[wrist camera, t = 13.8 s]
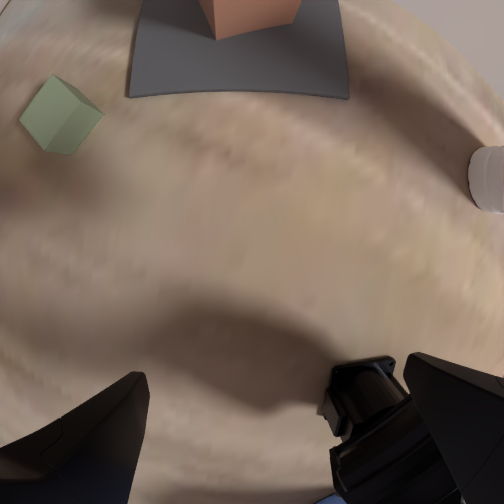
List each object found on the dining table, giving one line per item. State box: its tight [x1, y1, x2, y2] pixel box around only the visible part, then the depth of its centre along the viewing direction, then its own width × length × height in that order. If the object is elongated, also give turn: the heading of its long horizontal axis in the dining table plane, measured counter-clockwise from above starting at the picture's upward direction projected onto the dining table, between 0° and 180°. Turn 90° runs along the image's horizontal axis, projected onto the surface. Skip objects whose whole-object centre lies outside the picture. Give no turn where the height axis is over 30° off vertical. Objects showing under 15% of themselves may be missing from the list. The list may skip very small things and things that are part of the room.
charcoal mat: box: [129, 0, 349, 100], centre depth 17 cm, size 16×16×1 cm
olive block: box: [19, 74, 104, 155], centre depth 16 cm, size 4×4×4 cm
